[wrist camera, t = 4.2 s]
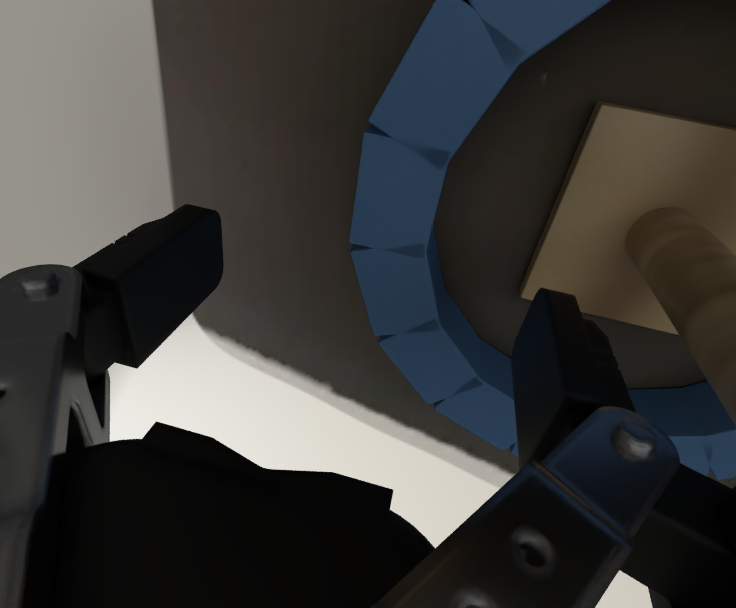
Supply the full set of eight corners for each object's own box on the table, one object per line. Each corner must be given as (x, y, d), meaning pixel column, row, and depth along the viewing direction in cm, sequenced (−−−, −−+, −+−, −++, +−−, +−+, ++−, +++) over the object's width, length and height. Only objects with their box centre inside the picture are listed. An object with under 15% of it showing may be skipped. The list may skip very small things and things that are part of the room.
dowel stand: (518, 289, 20) (560, 592, 9) (596, 100, 15) (846, 285, 5) (701, 331, 19) (964, 711, 9) (840, 146, 15) (1746, 481, 4)
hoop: (342, 367, 25) (326, 405, 22) (436, -256, 12) (424, -327, 9) (766, 477, 23) (801, 533, 20) (1465, -131, 10) (1804, -181, 7)
